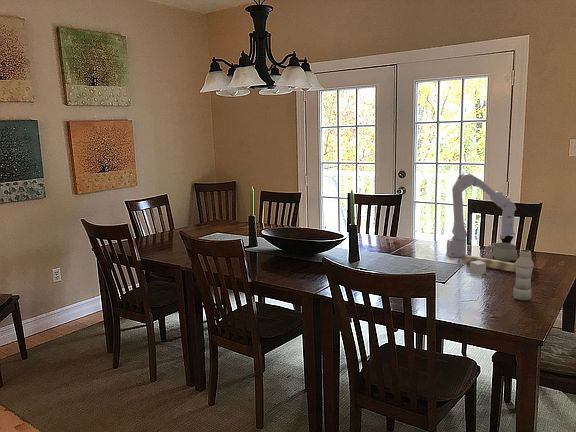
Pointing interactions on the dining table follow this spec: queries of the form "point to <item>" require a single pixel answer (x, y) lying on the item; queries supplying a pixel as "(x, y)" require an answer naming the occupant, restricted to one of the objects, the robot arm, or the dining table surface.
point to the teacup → (502, 251)
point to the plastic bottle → (523, 276)
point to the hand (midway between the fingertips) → (506, 249)
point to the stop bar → (490, 263)
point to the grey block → (477, 267)
